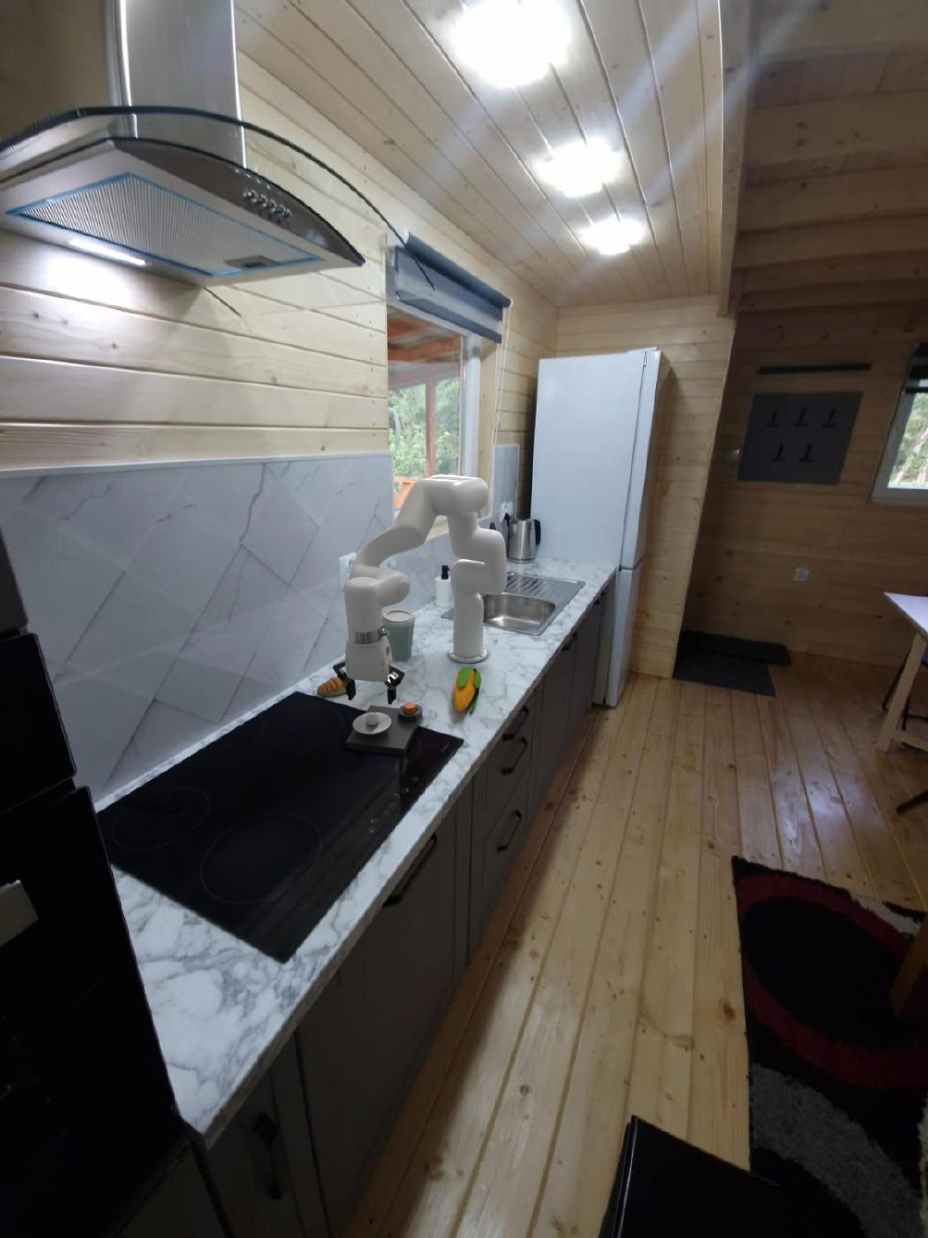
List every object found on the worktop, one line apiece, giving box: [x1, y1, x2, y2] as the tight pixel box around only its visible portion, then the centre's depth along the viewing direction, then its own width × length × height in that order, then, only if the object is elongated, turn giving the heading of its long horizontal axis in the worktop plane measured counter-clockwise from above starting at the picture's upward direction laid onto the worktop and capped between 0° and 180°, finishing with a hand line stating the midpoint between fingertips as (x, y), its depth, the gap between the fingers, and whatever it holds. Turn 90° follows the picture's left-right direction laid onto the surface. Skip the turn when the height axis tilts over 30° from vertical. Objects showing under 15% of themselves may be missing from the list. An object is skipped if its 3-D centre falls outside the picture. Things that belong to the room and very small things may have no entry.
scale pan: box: [352, 712, 391, 736], centre depth 117 cm, size 9×9×1 cm
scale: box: [345, 703, 424, 757], centre depth 120 cm, size 16×14×4 cm
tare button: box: [403, 701, 417, 714], centre depth 124 cm, size 3×3×2 cm
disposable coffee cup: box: [382, 608, 416, 662], centre depth 156 cm, size 11×11×15 cm
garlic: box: [366, 710, 379, 725], centre depth 117 cm, size 3×4×3 cm
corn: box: [452, 666, 482, 712], centre depth 133 cm, size 7×8×20 cm
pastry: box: [316, 676, 346, 698], centre depth 138 cm, size 9×7×4 cm
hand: (371, 699), depth 116 cm, fingers open, 9 cm apart
